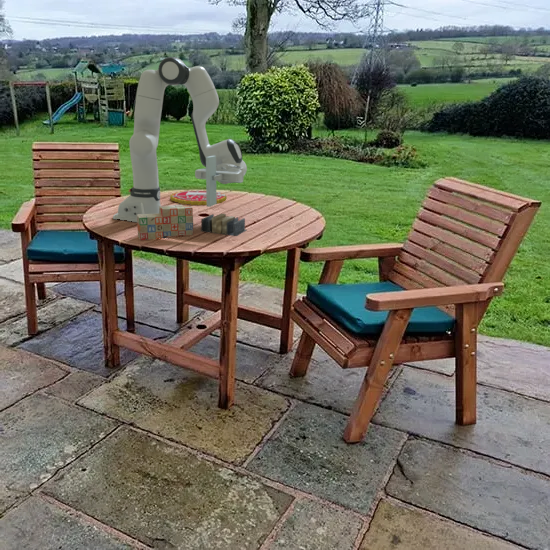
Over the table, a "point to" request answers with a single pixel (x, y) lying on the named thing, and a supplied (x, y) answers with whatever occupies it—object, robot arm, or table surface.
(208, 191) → the tall panel
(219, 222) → the offcut
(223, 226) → the offcut
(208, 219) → the slot rack
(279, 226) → the table surface
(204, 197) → the decorative sign
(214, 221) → the offcut
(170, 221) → the stack of blocks
